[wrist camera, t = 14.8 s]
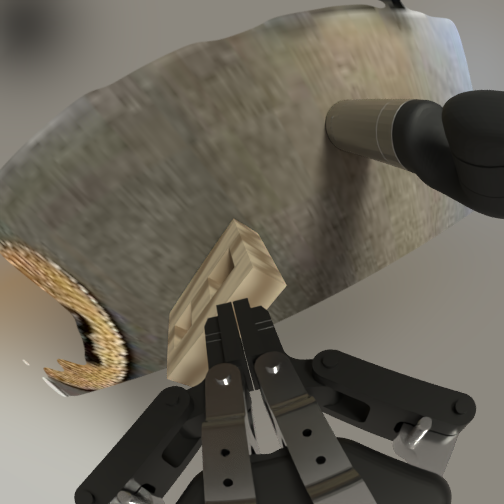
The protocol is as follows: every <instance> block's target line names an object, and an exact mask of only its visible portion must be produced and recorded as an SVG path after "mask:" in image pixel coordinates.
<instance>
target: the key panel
mask: <svg viewBox="0 0 504 504" xmlns="http://www.w3.org/2000/svg"><path fill="white" fill-rule="evenodd" d="M286 286H287V285H286V283H285V281H284V280H283V278H282V276H281V274H280V272H279V271H278V269H277V267H276V265H275V263H274V261H273V260H272V258H271V256H270V254H269V252H268V251H267V249H266V247H265V245H264V243H263V242H262V240H261V238H260V236H259V234H258V233H257V232H255V231H253V230H252V229H250V228H248V227H247V226H245V225H243V224H242V223H240V222H239V221H237V220H235V219H234V218H233V220H232V221H231V223H230V224H229V226H228V227H227V228H226V230H225V231H224V233H223V234H222V236H221V237H220V239H219V240H218V241H217V243H216V244H215V246H214V247H213V249H212V250H211V252H210V253H209V255H208V256H207V258H206V259H205V260H204V262H203V263H202V265H201V266H200V268H199V269H198V271H197V272H196V274H195V275H194V277H193V278H192V280H191V281H190V283H189V284H188V286H187V287H186V289H185V290H184V292H183V293H182V295H181V296H180V298H179V300H178V301H177V303H176V304H175V306H174V307H173V309H172V310H171V312H170V316H169V332H168V355H167V379H169V380H172V381H175V382H179V383H182V384H185V385H188V386H191V387H194V386H196V385H198V384H199V383H201V382H202V381H203V380H204V379H205V376H206V374H207V372H208V359H207V350H206V340H205V330H204V326H205V323H206V321H207V319H208V318H211V317H215V316H218V314H217V308H216V305H219V304H223V303H228V302H231V303H232V306H233V301H236V300H240V299H244V298H248V301H249V304H250V307H251V308H253V307H257V306H262V307H264V308H265V309H266V310H267V308H268V307H269V306H270V305H271V304H272V302H273V301H274V300H275V299H276V298H277V296H278V295H279V294H280V293H281V292H282V290H283V289H284V288H285V287H286ZM233 310H234V306H233ZM234 314H235V310H234ZM235 318H236V314H235ZM236 322H237V318H236ZM237 325H238V322H237ZM238 329H239V327H238ZM239 333H240V331H239ZM240 337H241V335H240Z"/></svg>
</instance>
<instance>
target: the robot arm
mask: <svg viewBox="0 0 504 504" xmlns="http://www.w3.org/2000/svg"><path fill="white" fill-rule="evenodd" d="M326 130H327V134H328V137H329V139H330V140H331V142H332V143H333V144H334V145H335V146H336V147H337V148H339V149H340V150H343V151H346V152H350V153H353V154H356V155H360V156H363V157H367V158H370V159H373V160H377V161H380V162H383V163H386V164H389V165H392V166H395V167H399V168H402V169H404V170H407V171H410V172H412V173H415V174H416V175H417V176H418V177H419V178H420V179H421V180H422V181H423V182H424V183H425V184H427V185H428V186H430V187H431V188H433V189H435V190H437V191H439V192H441V193H443V194H445V195H447V196H449V197H450V198H452V199H454V200H456V201H458V202H459V203H461V204H463V205H465V206H467V207H469V208H470V209H472V210H474V211H477V212H479V213H481V214H484V215H487V216H490V217H495V218H500V219H504V91H494V90H475V91H468V92H464V93H460V94H458V95H456V96H454V97H452V98H450V99H449V100H448V101H447V102H446V103H445V105H444V106H443V107H441V106H440V105H439V104H437V103H435V102H432V101H429V100H418V99H357V100H343V101H340V102H338V103H336V104H335V105H334V106H332V107H331V109H330V110H329V112H328V115H327V118H326ZM233 306H234V310H235V314H236V318H237V322H238V325H237V322H236V318H235V314H234V310H233ZM233 306H232V303H231V302H228V303H223V304H219V305H216V308H217V314H218V316H215V317H211V318H208V319H207V321H206V323H205V326H204V330H205V340H206V350H207V359H208V372H207V374H206V376H205V379H204V380H203V381H202V382H201V383H199V384H198V385H196V386H194V387H192V388H190V389H188V390H185V389H184V388H182V387H178V386H172V387H168V388H166V389H164V390H163V391H161V393H160V394H159V395H158V396H157V397H156V398H155V399H154V401H153V402H152V403H151V404H150V405H149V407H148V408H147V409H146V410H145V411H144V413H143V414H142V415H141V416H140V417H139V418H138V420H137V421H136V422H135V423H134V424H133V425H132V427H131V428H130V429H129V430H128V431H127V432H126V434H125V435H124V436H123V437H122V438H121V439H120V441H119V442H118V443H117V444H116V445H115V446H114V447H113V449H112V450H111V451H110V452H109V453H108V454H107V456H106V457H105V458H104V459H103V460H102V461H101V462H100V463H99V465H98V466H97V467H96V468H95V469H94V470H93V471H92V473H91V474H90V475H89V476H88V477H87V478H86V479H85V481H84V482H83V483H82V484H81V485H80V486H79V487H78V488H77V490H76V492H75V496H74V498H75V503H76V504H165V503H164V501H163V500H162V498H163V497H164V495H165V494H166V493H167V492H168V490H169V489H170V487H171V486H172V485H173V484H174V482H175V481H176V480H177V478H178V477H179V476H180V475H181V473H182V472H183V470H184V469H185V468H186V466H187V465H188V464H189V462H190V461H191V460H192V458H193V457H194V455H195V454H196V453H197V451H198V450H199V448H200V447H201V446H202V458H203V471H201V472H200V473H199V474H197V475H196V476H195V477H194V478H193V480H192V481H191V482H190V484H189V485H188V486H187V488H186V490H185V491H184V492H183V494H182V495H181V497H180V498H179V500H178V501H177V502H176V504H451V490H450V487H449V485H448V483H447V481H446V480H445V479H444V478H443V477H442V476H443V473H444V471H445V469H446V466H447V464H448V461H449V459H450V457H451V454H452V451H453V449H454V446H455V443H456V440H457V437H458V434H459V433H460V432H461V431H462V430H463V429H464V428H465V427H466V425H467V424H468V423H470V421H471V420H472V419H473V418H474V416H475V413H476V405H475V402H474V400H473V399H472V398H471V397H470V396H469V395H467V394H464V393H461V392H458V391H454V390H451V389H448V388H444V387H441V386H438V385H434V384H431V383H428V382H425V381H421V380H419V379H416V378H412V377H410V376H407V375H404V374H400V373H398V372H395V371H392V370H389V369H386V368H383V367H380V366H378V365H375V364H372V363H369V362H367V361H364V360H361V359H359V358H356V357H353V356H351V355H348V354H345V353H343V352H340V351H338V350H325V351H322V352H320V353H318V354H317V355H316V356H315V357H314V359H309V360H299V359H294V358H292V357H290V356H288V355H287V354H286V353H285V352H284V350H283V348H282V345H281V343H280V340H279V338H278V336H277V333H276V330H275V328H274V325H273V322H272V320H271V317H270V315H269V312H268V311H267V310H266V309H265V308H264V307H262V306H257V307H253V308H251V307H250V304H249V301H248V298H244V299H240V300H236V301H233ZM238 327H239V329H238ZM239 331H240V333H239ZM240 335H241V337H240ZM241 339H242V341H241ZM242 343H243V345H242ZM243 347H244V350H243ZM244 351H245V354H244ZM245 355H246V358H245ZM246 359H247V362H248V366H249V370H250V373H251V377H252V380H253V384H254V387H255V390H258V389H260V391H261V395H262V399H263V402H264V405H265V408H266V411H267V413H268V416H269V418H270V421H271V423H272V426H273V428H274V431H275V433H276V436H277V438H278V441H279V444H280V447H281V449H279V450H277V451H275V452H273V453H271V454H260V450H259V446H258V442H257V437H256V431H255V424H254V418H253V411H252V406H251V403H252V402H251V397H250V393H249V392H250V391H253V390H254V389H253V385H252V381H251V378H250V374H249V370H248V366H247V362H246ZM322 412H324V413H326V414H329V415H331V416H333V417H335V418H337V419H340V420H342V421H344V422H346V423H349V424H351V425H353V426H356V427H358V428H360V429H363V430H365V431H368V432H370V433H373V434H376V435H378V436H380V437H383V438H386V439H388V440H391V441H393V449H394V451H395V453H396V454H397V455H398V456H400V457H402V458H403V459H405V460H406V461H407V463H405V462H403V461H400V460H397V459H394V458H392V457H390V456H387V455H385V454H382V453H380V452H378V451H375V450H373V449H371V448H369V447H366V446H364V445H362V444H360V443H358V442H355V441H353V440H350V439H346V438H340V437H336V436H335V434H334V433H333V431H332V429H331V427H330V425H329V424H328V422H327V420H326V418H325V416H324V414H323V413H322Z"/></svg>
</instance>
